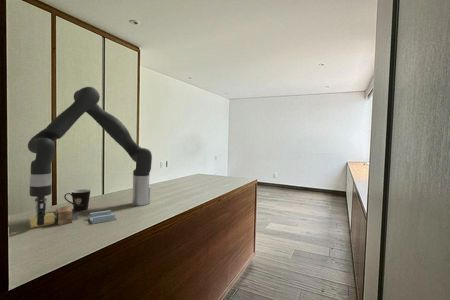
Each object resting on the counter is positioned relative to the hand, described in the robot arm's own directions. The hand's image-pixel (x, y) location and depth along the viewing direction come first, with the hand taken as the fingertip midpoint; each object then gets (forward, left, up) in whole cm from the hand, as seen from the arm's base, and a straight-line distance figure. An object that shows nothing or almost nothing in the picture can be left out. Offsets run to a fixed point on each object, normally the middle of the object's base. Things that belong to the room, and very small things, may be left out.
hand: (40, 223), depth 104 cm
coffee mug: (-17, -17, -1) cm, 24 cm away
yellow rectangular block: (-1, 0, -1) cm, 1 cm away
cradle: (-23, +6, -1) cm, 24 cm away
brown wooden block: (-9, 0, -1) cm, 9 cm away
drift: (-9, -1, -1) cm, 9 cm away
